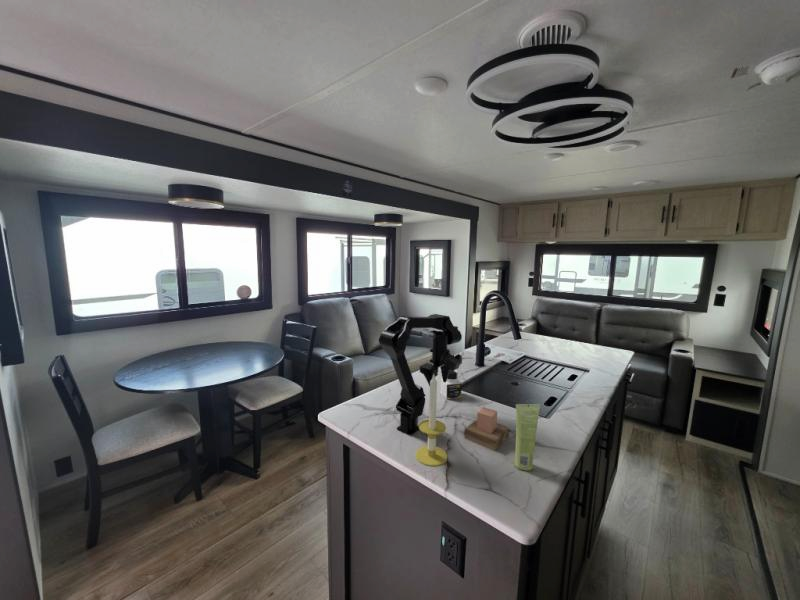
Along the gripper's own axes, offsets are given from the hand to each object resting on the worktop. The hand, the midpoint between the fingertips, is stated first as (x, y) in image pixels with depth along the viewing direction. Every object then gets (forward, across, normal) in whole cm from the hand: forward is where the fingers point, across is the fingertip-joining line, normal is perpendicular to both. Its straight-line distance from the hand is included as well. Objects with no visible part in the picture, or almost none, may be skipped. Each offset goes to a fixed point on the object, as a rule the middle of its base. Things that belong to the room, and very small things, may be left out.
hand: (438, 385), depth 124 cm
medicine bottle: (+12, +19, +5) cm, 23 cm away
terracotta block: (+8, -3, -22) cm, 24 cm away
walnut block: (+12, -3, -22) cm, 25 cm away
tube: (+12, -10, -37) cm, 40 cm away
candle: (+12, -24, -13) cm, 30 cm away
